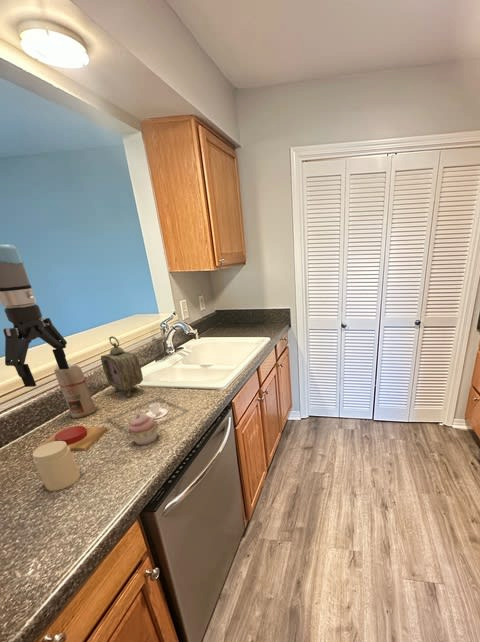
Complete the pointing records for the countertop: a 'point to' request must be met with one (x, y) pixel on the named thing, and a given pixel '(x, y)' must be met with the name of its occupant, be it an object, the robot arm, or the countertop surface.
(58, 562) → the countertop surface
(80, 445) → the board
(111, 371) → the tabletop clock
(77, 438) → the lid
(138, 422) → the cupcake
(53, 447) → the jar
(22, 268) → the robot arm
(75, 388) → the tan tall cylinder
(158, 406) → the teacup and saucer
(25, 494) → the countertop surface
